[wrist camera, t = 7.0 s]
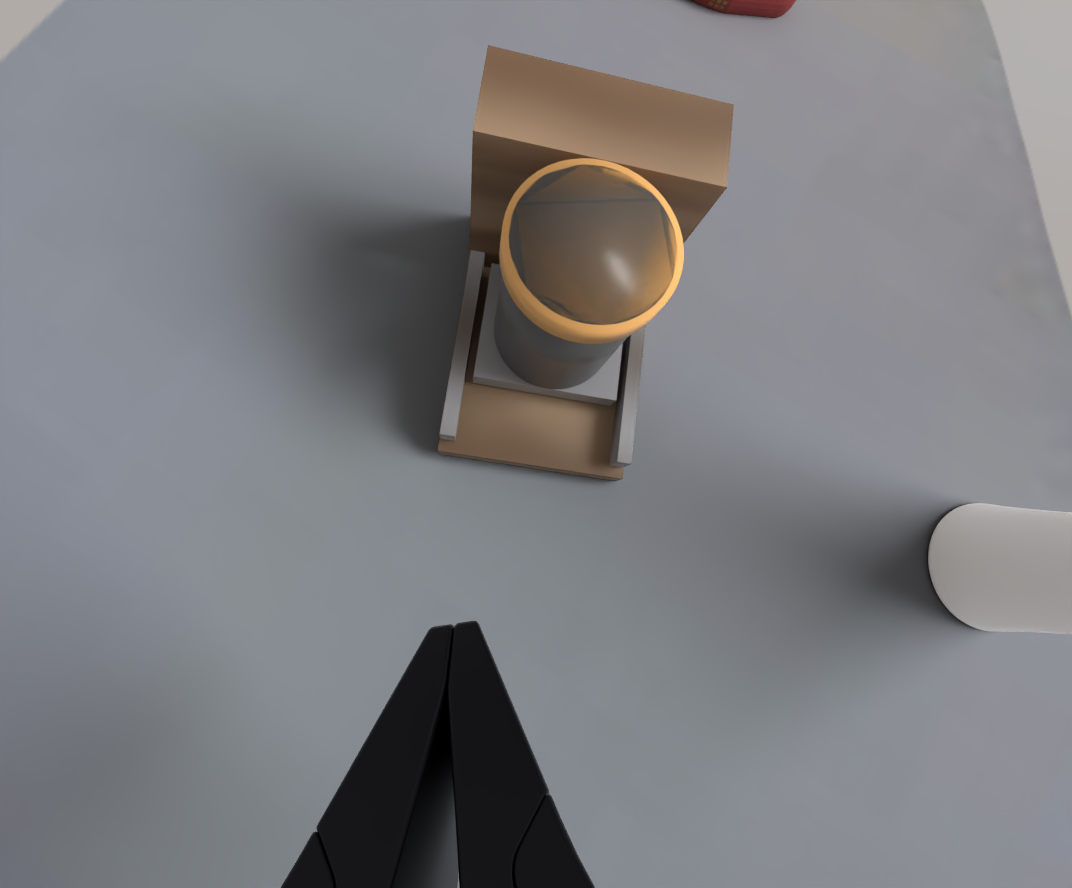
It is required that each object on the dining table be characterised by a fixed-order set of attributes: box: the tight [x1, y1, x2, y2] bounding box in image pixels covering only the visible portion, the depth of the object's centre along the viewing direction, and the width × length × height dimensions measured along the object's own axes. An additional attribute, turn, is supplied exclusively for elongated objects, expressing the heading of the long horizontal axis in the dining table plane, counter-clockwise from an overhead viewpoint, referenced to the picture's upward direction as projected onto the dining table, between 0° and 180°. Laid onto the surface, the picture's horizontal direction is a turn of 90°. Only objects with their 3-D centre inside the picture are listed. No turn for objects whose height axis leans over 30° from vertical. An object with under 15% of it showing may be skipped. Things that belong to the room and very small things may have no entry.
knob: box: [473, 158, 684, 406], centre depth 19 cm, size 5×6×8 cm
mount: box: [438, 45, 733, 481], centre depth 20 cm, size 12×8×9 cm
